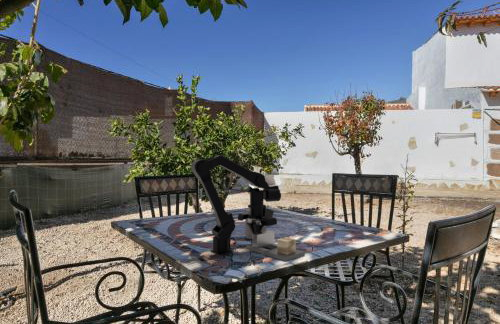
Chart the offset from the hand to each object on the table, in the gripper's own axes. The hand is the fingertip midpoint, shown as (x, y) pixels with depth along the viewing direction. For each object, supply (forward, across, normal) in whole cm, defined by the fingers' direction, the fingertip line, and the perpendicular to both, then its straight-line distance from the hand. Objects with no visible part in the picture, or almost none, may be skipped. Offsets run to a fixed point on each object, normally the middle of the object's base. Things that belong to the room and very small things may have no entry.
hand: (256, 239), depth 152 cm
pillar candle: (+4, +14, -12) cm, 19 cm away
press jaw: (+1, -4, 0) cm, 4 cm away
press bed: (+4, -10, 0) cm, 11 cm away
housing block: (+2, -17, 0) cm, 17 cm away
